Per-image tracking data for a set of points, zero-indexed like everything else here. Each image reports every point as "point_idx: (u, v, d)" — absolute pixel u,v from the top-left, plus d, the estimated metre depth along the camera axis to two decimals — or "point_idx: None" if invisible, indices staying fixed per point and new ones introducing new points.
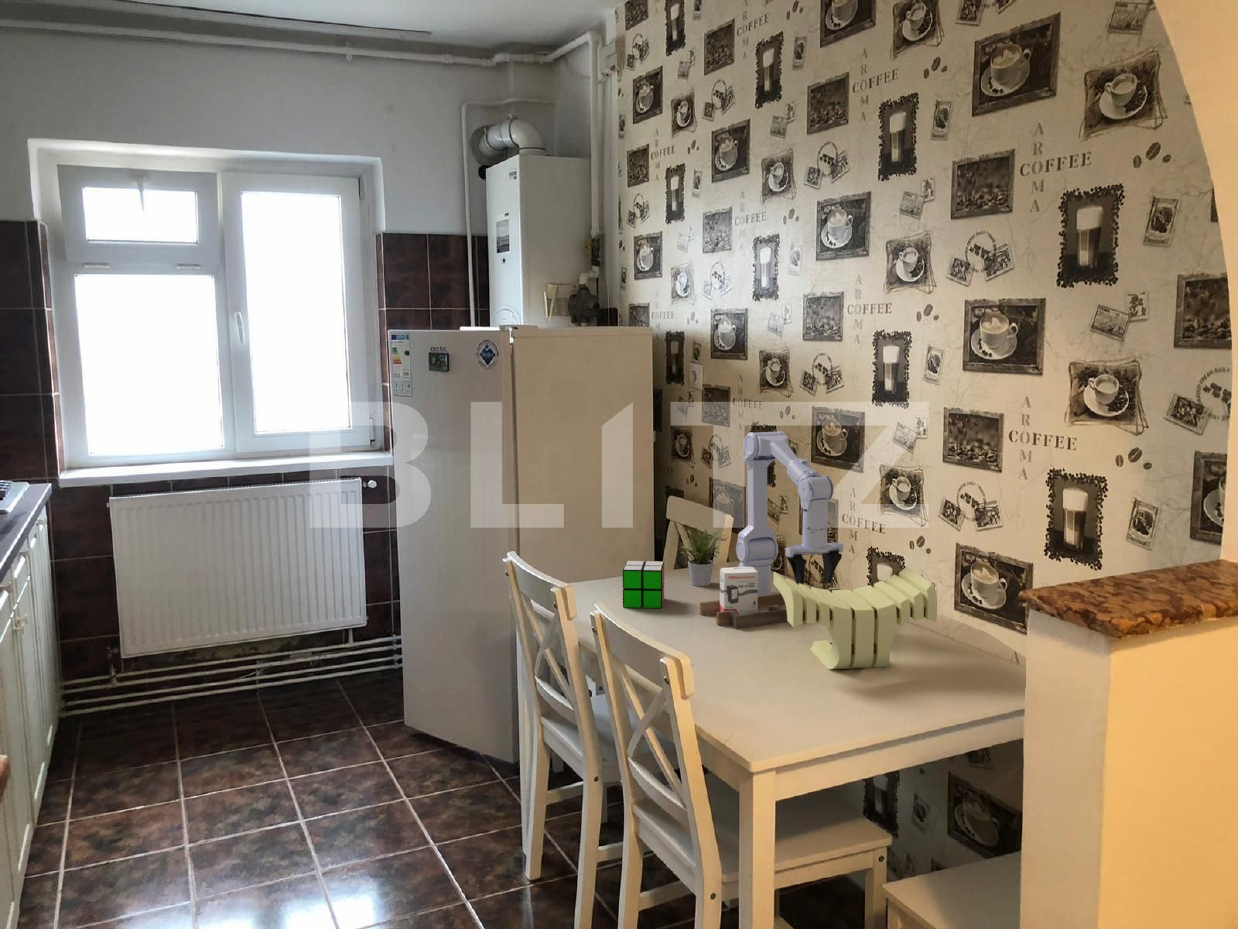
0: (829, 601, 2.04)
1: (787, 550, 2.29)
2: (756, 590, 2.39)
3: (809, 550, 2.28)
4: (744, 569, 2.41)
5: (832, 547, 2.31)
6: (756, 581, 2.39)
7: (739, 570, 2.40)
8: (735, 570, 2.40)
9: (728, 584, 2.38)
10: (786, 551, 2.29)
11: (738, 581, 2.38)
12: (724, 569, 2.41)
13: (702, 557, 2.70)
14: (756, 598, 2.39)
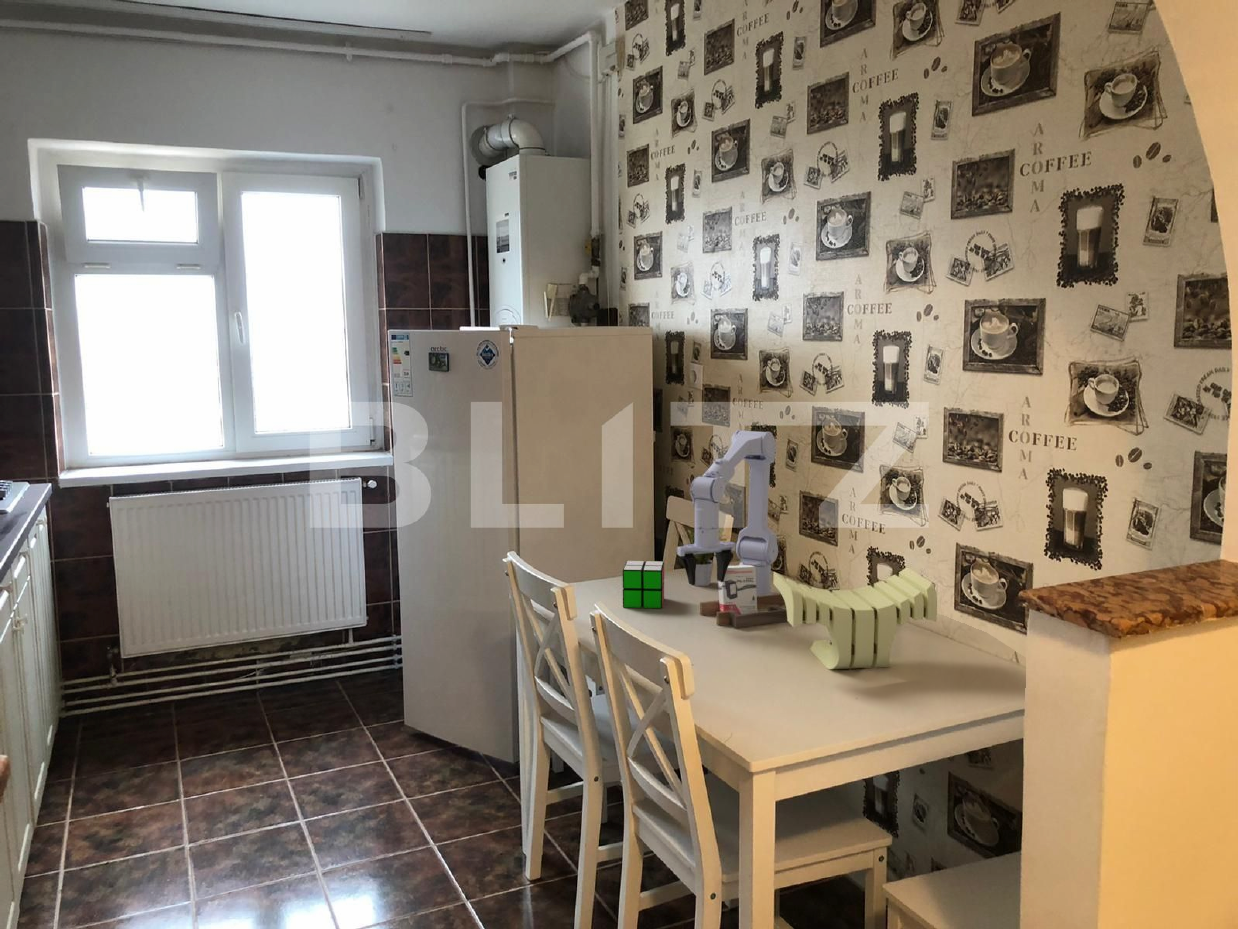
0: (829, 601, 2.04)
1: (678, 549, 2.33)
2: (754, 585, 2.40)
3: (700, 549, 2.32)
4: (741, 566, 2.43)
5: (724, 546, 2.35)
6: (754, 576, 2.40)
7: (737, 566, 2.42)
8: (733, 566, 2.42)
9: (726, 579, 2.40)
10: (678, 550, 2.33)
11: (736, 576, 2.40)
12: None
13: (702, 557, 2.70)
14: (755, 593, 2.40)
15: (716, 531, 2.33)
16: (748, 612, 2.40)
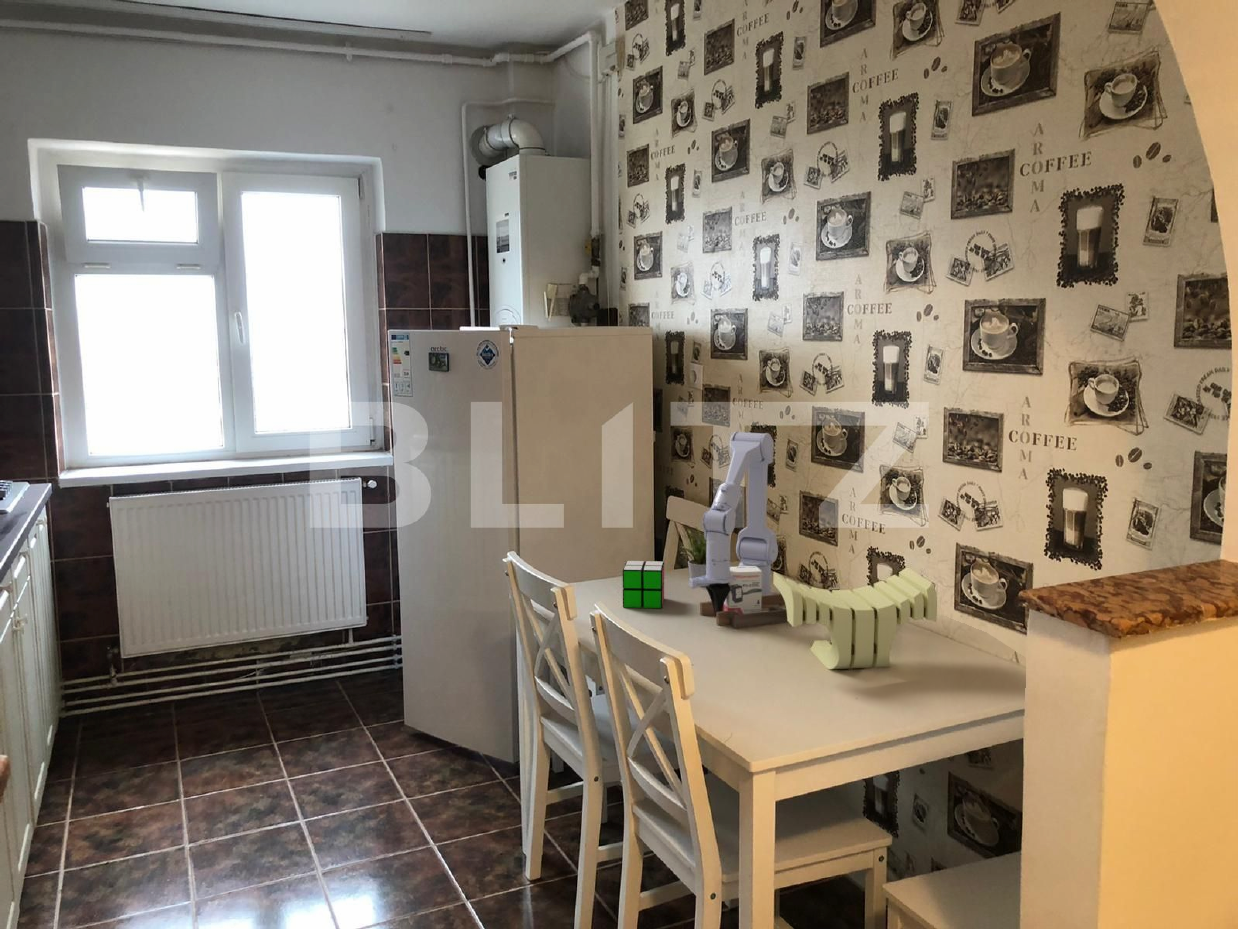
0: (829, 601, 2.04)
1: (690, 581, 2.36)
2: (760, 589, 2.40)
3: (711, 581, 2.35)
4: (748, 568, 2.41)
5: (735, 578, 2.38)
6: (760, 580, 2.39)
7: (743, 569, 2.40)
8: (739, 569, 2.40)
9: (732, 583, 2.38)
10: (689, 582, 2.36)
11: (742, 580, 2.39)
12: None
13: (702, 557, 2.70)
14: (760, 597, 2.40)
15: (727, 563, 2.36)
16: None
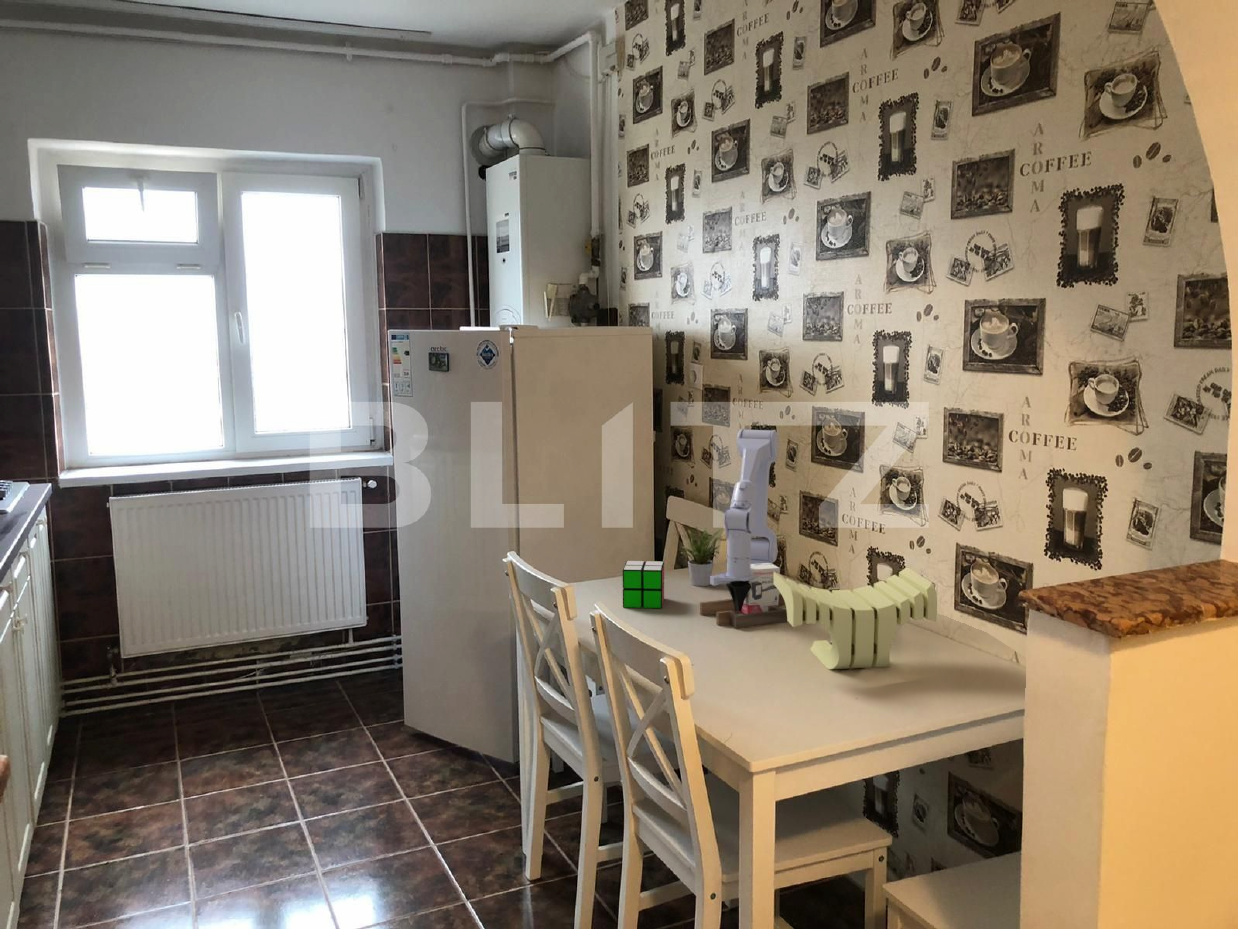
0: (829, 601, 2.04)
1: (711, 579, 2.38)
2: None
3: (732, 579, 2.37)
4: (765, 565, 2.44)
5: (755, 576, 2.40)
6: None
7: (761, 566, 2.43)
8: (757, 566, 2.43)
9: (752, 580, 2.40)
10: (710, 579, 2.38)
11: (762, 577, 2.41)
12: None
13: (702, 557, 2.70)
14: (778, 593, 2.43)
15: (748, 561, 2.38)
16: None
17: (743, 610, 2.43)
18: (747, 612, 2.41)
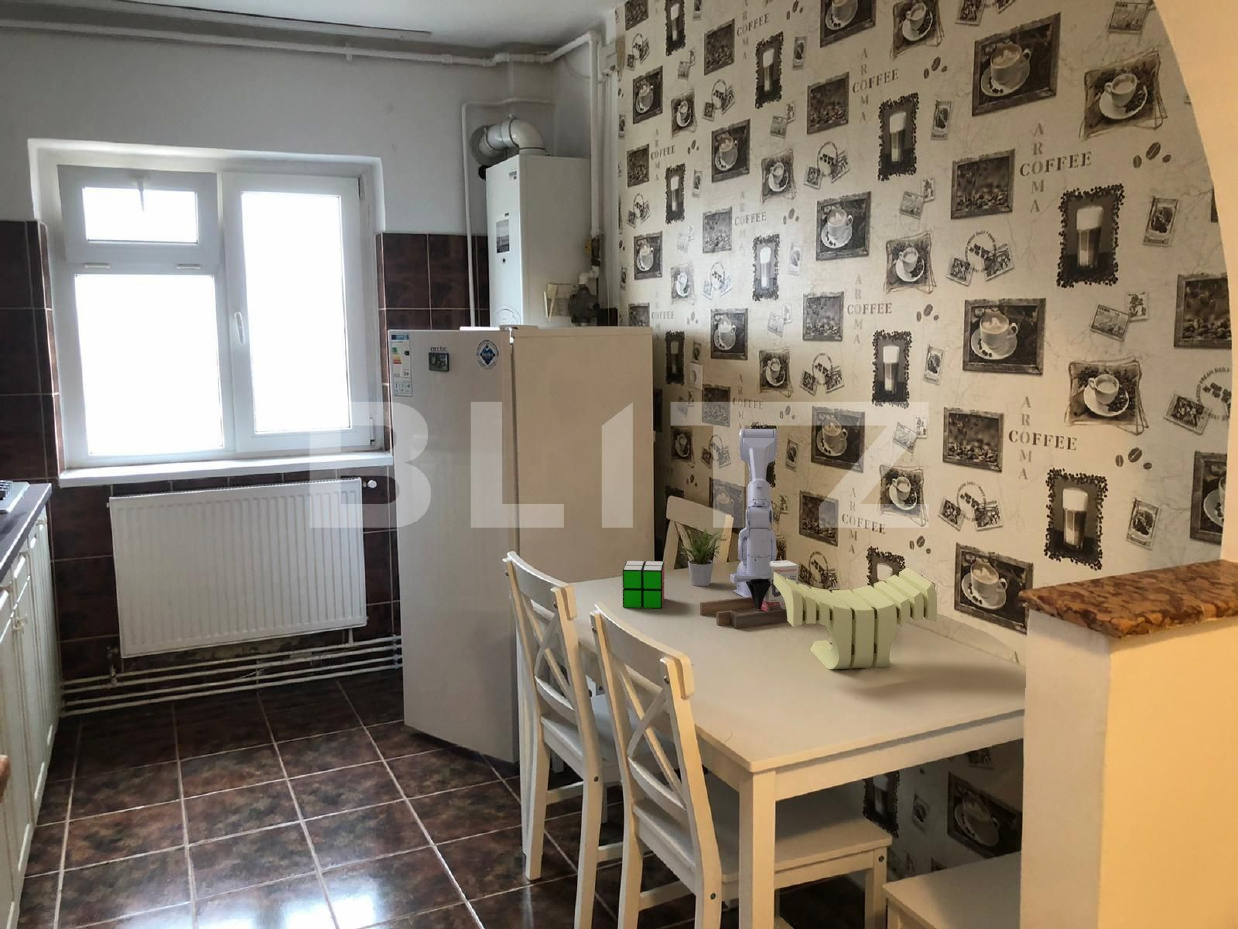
0: (829, 601, 2.04)
1: (731, 577, 2.40)
2: None
3: (752, 577, 2.39)
4: (784, 563, 2.46)
5: None
6: (797, 574, 2.45)
7: (780, 564, 2.45)
8: (777, 564, 2.45)
9: (772, 577, 2.42)
10: (731, 577, 2.40)
11: (782, 574, 2.43)
12: None
13: (702, 557, 2.70)
14: None
15: (768, 559, 2.40)
16: None
17: (762, 607, 2.45)
18: (767, 609, 2.43)
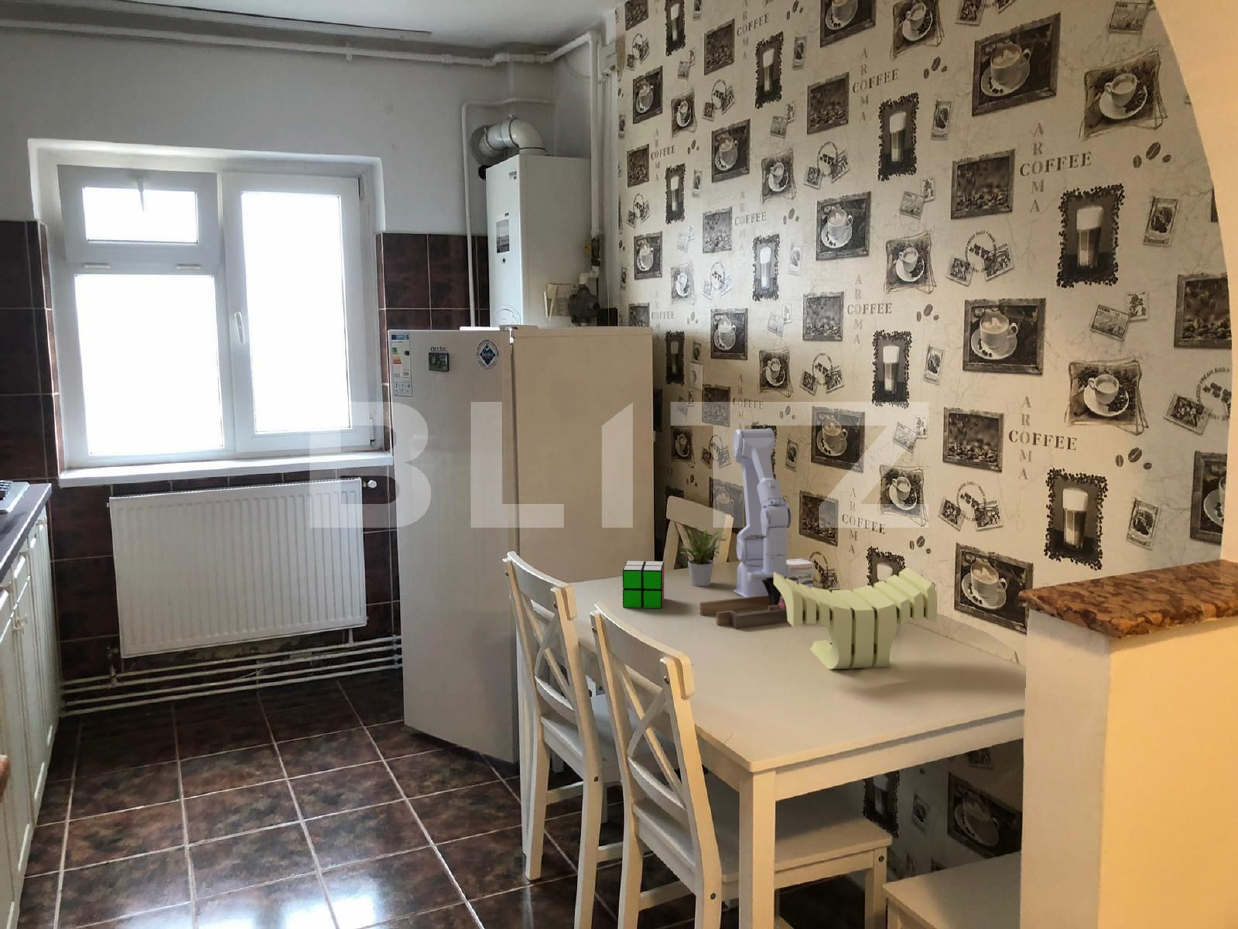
0: (829, 601, 2.04)
1: (748, 575, 2.41)
2: (812, 581, 2.48)
3: (769, 575, 2.41)
4: (799, 561, 2.48)
5: (791, 572, 2.44)
6: (813, 572, 2.47)
7: (796, 562, 2.47)
8: (793, 562, 2.47)
9: (789, 575, 2.44)
10: (747, 576, 2.42)
11: (798, 572, 2.45)
12: None
13: (702, 557, 2.70)
14: None
15: (785, 557, 2.42)
16: None
17: (779, 605, 2.47)
18: (784, 607, 2.45)
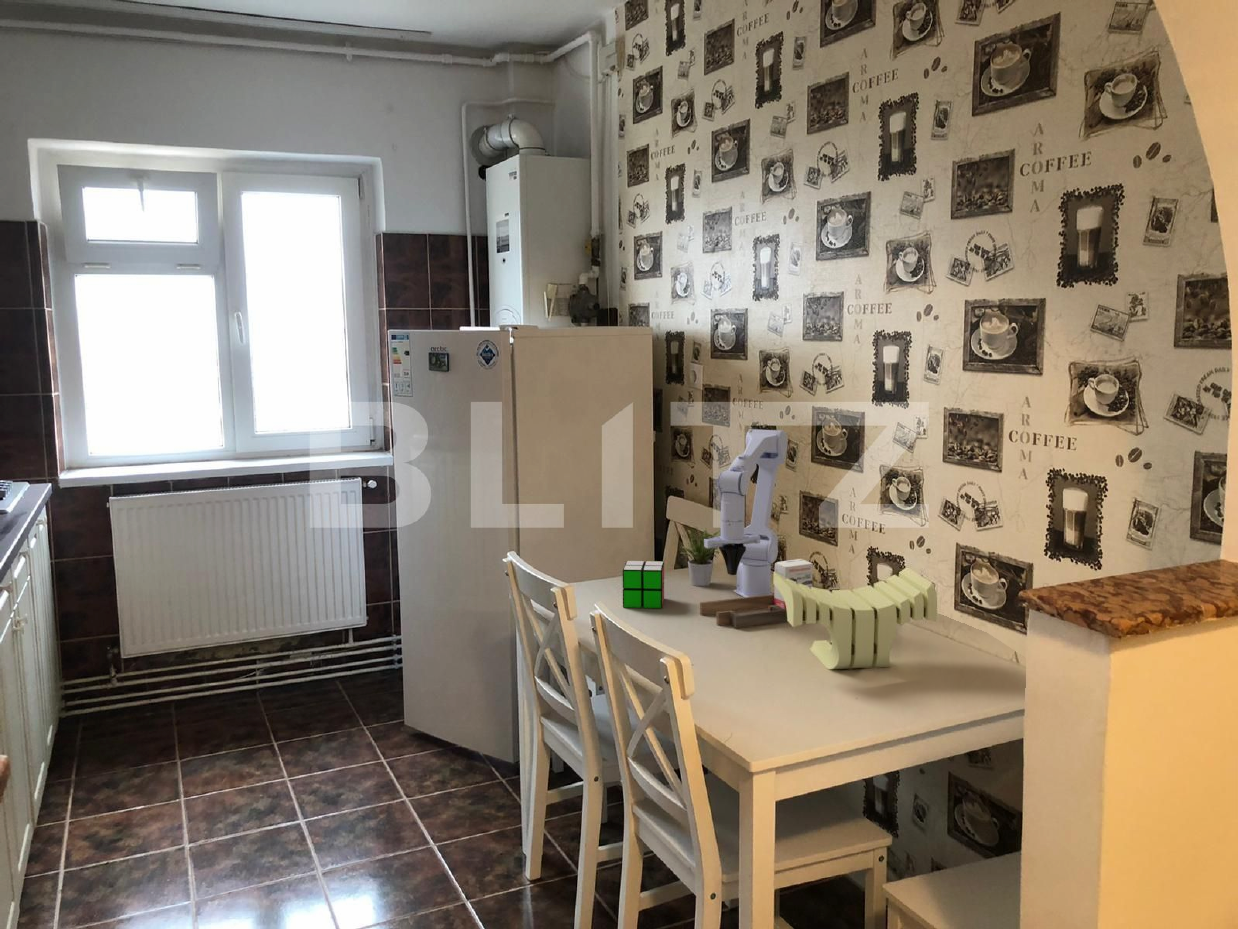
0: (829, 601, 2.04)
1: (705, 541, 2.39)
2: (811, 581, 2.47)
3: (726, 541, 2.38)
4: (798, 561, 2.48)
5: (749, 539, 2.41)
6: (811, 572, 2.47)
7: (795, 563, 2.47)
8: (791, 563, 2.46)
9: (788, 577, 2.44)
10: (705, 542, 2.39)
11: (797, 573, 2.45)
12: (780, 563, 2.46)
13: (702, 557, 2.70)
14: None
15: (742, 524, 2.39)
16: None
17: None
18: None
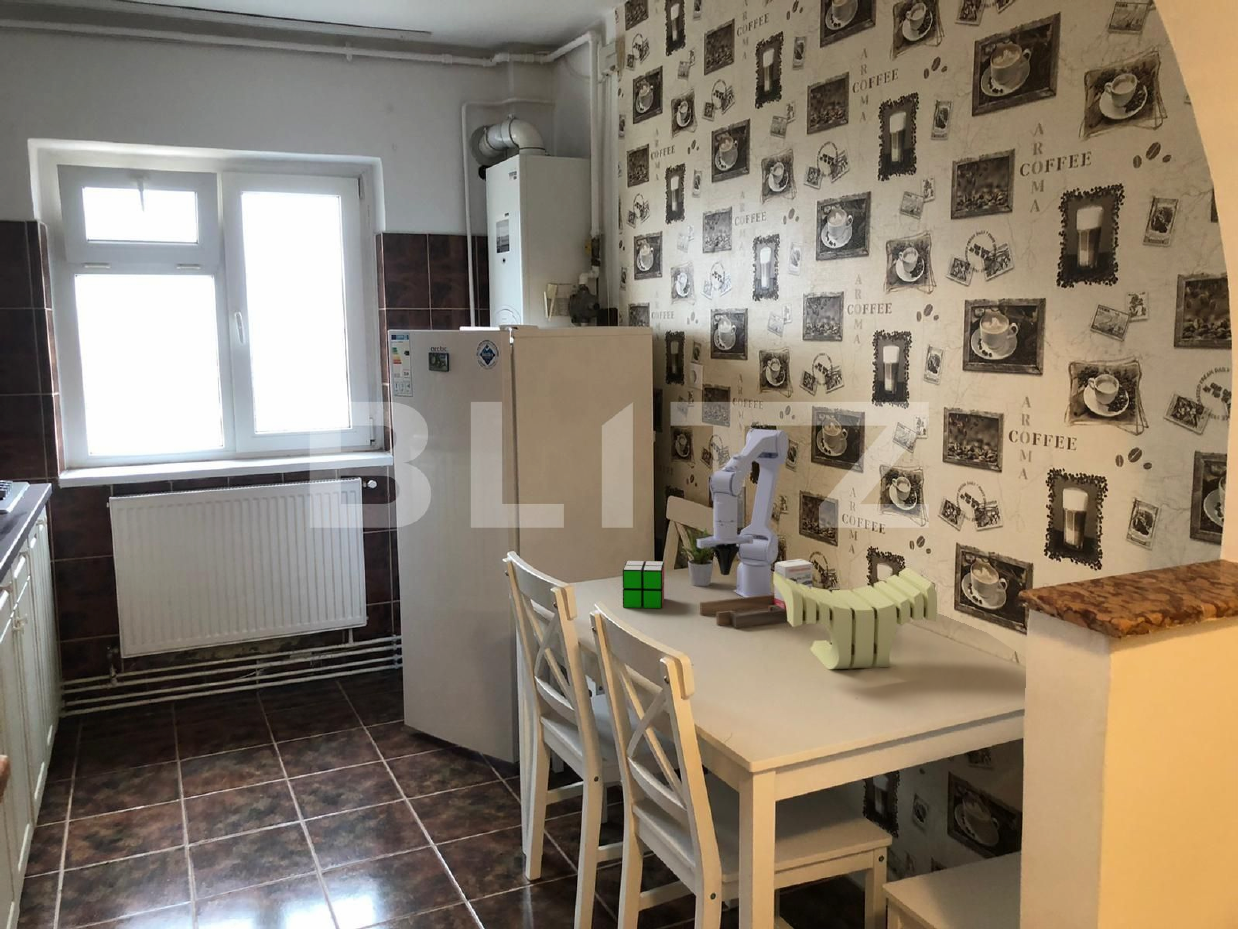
0: (829, 601, 2.04)
1: (698, 541, 2.39)
2: (811, 581, 2.47)
3: (719, 541, 2.39)
4: (798, 561, 2.48)
5: (742, 539, 2.41)
6: (811, 572, 2.47)
7: (795, 563, 2.47)
8: (791, 563, 2.46)
9: (788, 577, 2.44)
10: (697, 542, 2.40)
11: (797, 573, 2.45)
12: (780, 563, 2.46)
13: (702, 557, 2.70)
14: None
15: (735, 524, 2.39)
16: None
17: None
18: None
